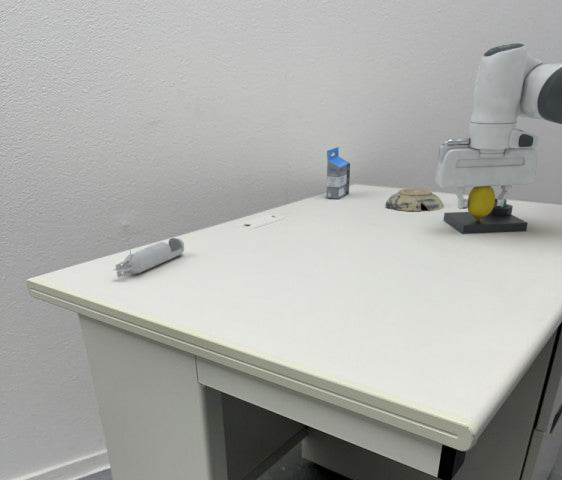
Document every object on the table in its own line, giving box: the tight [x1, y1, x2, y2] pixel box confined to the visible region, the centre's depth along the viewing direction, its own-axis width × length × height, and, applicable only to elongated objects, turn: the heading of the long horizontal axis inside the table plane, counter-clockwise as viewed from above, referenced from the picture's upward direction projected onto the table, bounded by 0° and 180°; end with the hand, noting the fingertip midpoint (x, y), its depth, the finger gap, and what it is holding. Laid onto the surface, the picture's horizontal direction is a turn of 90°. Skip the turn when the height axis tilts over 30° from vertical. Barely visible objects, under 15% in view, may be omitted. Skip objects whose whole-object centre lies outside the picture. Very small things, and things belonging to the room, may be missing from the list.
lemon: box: [467, 186, 496, 220], centre depth 116 cm, size 6×6×8 cm
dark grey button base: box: [443, 203, 529, 235], centre depth 121 cm, size 14×12×4 cm
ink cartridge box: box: [325, 146, 351, 200], centre depth 151 cm, size 9×4×12 cm, turn 155°
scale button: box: [497, 198, 508, 208], centre depth 123 cm, size 3×3×2 cm
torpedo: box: [113, 237, 185, 278], centre depth 100 cm, size 18×5×6 cm, turn 152°
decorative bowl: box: [385, 187, 444, 213], centre depth 140 cm, size 15×4×15 cm
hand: (480, 207), depth 117 cm, fingers open, 6 cm apart
